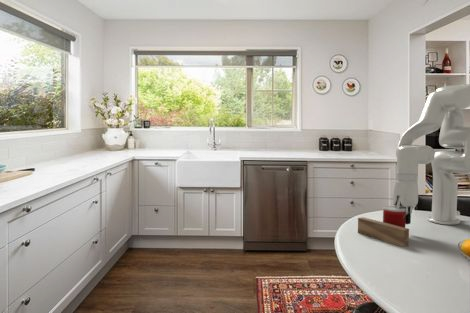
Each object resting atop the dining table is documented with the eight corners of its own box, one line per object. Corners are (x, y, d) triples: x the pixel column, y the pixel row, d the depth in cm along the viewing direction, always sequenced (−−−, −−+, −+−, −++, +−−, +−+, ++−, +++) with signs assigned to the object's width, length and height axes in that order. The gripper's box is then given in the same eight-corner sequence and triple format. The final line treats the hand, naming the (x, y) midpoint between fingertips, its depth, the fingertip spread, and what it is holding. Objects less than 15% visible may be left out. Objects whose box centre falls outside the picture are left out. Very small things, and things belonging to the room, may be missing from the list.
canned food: (407, 239, 136) (408, 210, 135) (384, 238, 138) (385, 209, 137) (402, 233, 143) (403, 206, 143) (381, 232, 145) (381, 205, 144)
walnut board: (362, 231, 146) (363, 217, 146) (408, 245, 129) (409, 228, 129) (357, 232, 145) (358, 218, 144) (403, 246, 128) (403, 230, 127)
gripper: (409, 175, 150) (408, 218, 151) (386, 178, 142) (385, 223, 144) (427, 177, 143) (425, 222, 145) (403, 180, 136) (402, 228, 137)
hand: (405, 223), depth 144 cm, fingers closed
